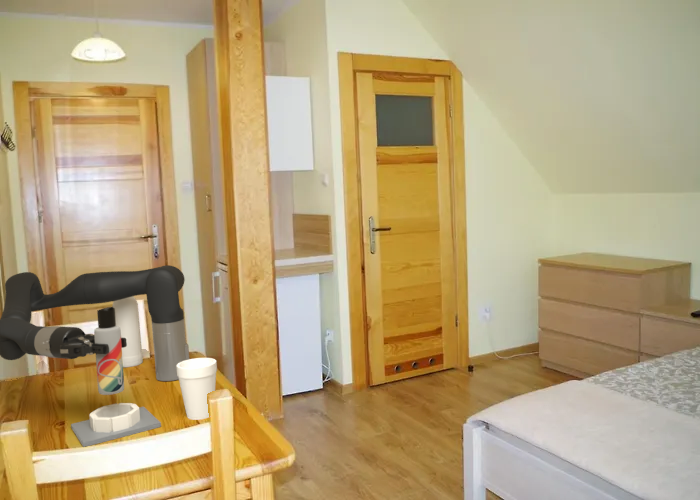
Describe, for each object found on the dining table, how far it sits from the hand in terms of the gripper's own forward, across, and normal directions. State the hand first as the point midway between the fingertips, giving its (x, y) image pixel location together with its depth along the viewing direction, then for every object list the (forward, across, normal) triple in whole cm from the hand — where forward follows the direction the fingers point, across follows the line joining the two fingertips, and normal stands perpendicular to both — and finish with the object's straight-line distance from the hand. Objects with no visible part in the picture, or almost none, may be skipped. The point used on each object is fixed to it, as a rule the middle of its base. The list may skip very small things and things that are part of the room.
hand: (116, 346), depth 138 cm
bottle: (-37, -45, -20) cm, 62 cm away
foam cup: (+13, -12, -20) cm, 27 cm away
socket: (-2, 0, -20) cm, 20 cm away
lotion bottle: (-3, 0, -11) cm, 11 cm away
